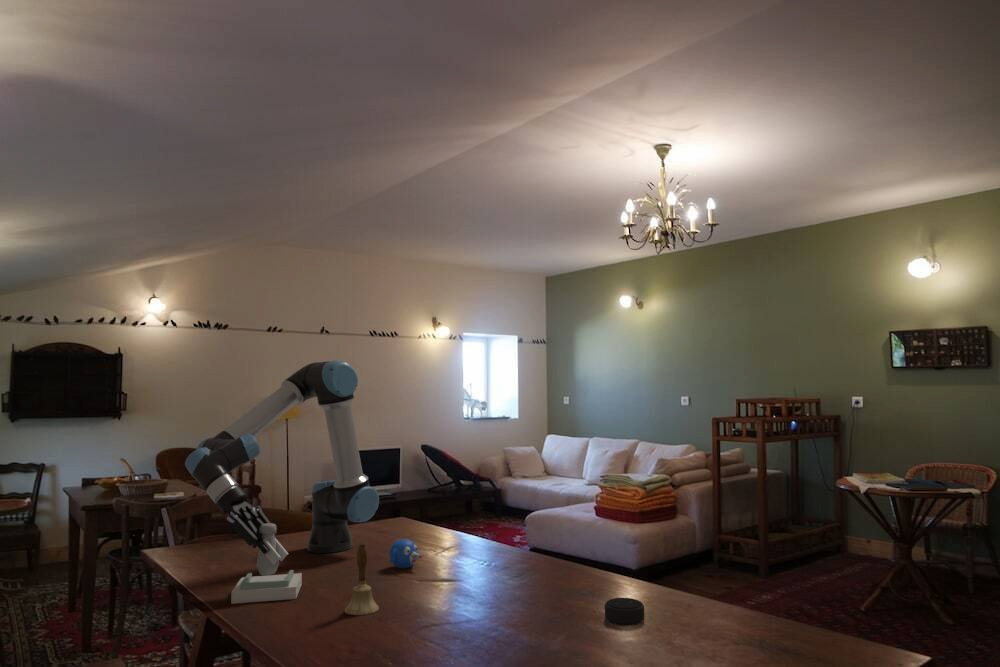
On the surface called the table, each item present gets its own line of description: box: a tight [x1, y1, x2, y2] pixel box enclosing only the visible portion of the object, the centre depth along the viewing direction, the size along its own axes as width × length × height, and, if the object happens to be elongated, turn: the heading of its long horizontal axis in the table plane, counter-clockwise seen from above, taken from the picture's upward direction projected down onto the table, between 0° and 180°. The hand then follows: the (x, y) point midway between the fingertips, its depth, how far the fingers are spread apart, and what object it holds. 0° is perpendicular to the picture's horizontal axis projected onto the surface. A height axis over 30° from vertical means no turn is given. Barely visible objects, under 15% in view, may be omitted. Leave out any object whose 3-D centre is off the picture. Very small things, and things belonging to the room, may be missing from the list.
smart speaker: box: [604, 597, 646, 627], centre depth 155 cm, size 9×9×4 cm
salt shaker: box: [255, 522, 280, 576], centre depth 183 cm, size 6×6×13 cm
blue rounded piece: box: [388, 538, 423, 569], centre depth 205 cm, size 12×12×8 cm
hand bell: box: [344, 542, 380, 616], centre depth 167 cm, size 8×8×16 cm
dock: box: [230, 569, 303, 604], centre depth 182 cm, size 16×14×4 cm
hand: (280, 558), depth 182 cm, fingers closed on salt shaker, 3 cm apart
